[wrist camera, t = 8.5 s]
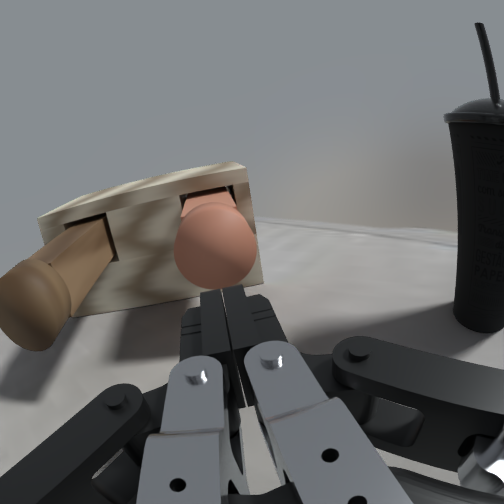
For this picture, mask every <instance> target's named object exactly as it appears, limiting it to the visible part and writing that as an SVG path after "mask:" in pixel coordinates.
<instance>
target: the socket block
mask: <svg viewBox="0 0 504 504" xmlns="http://www.w3.org/2000/svg"><path fill="white" fill-rule="evenodd" d="M222 186H226V188H227V190H228V192H229V194H230V195H231V197H232V199H233V201H234V202H235V204H236V206H237V210H238V211H239V212H240V213H241V214H242V215H243V217H244V218H245V220H246V222H247V223H248V225H249V227H250V228H251V230H252V232H253V234H254V237H255V239H256V244H257V255H256V260H255V263H254V265H253V267H252V269H251V270H250V272H249V273H248V274H247V276H246V277H245V278H244V279H242V280H241V281H240V282H238V283H237V284H235V285H239V284H242V285H243V287H247V286H252V285H257V284H262V283H264V281H263V274H262V268H261V261H260V254H259V247H258V241H257V234H256V228H255V221H254V214H253V208H252V201H251V195H250V188H249V183H248V175H247V169H246V167H244V166H242V165H240V164H238V163H235V162H233V161H230V162H224V163H219V164H213V165H208V166H202V167H198V168H192V169H187V170H182V171H178V172H173V173H168V174H164V175H160V176H156V177H151V178H147V179H143V180H139V181H134V182H131V183H126V184H123V185H119V186H115V187H111V188H108V189H104V190H101V191H97V192H93V193H90V194H87V195H83V196H81V197H79V198H76V199H75V200H72V201H70V202H68V203H66V204H64V205H62V206H60V207H58V208H56V209H54V210H52V211H50V212H48V213H46V214H44V215H42V216H41V217H39V218H37V220H38V224H39V227H40V231H41V234H42V238H43V241H44V244H45V245H46V244H48V243H49V242H50V241H52V240H53V239H54V238H56V237H57V236H58V235H60V234H61V233H63V232H64V231H65V230H67V229H68V228H70V227H71V226H73V225H74V224H76V223H77V222H78V221H80V220H81V219H83V218H86V217H90V216H93V215H97V214H101V213H105V212H106V215H107V219H108V222H109V226H110V230H111V234H112V237H113V241H114V244H115V248H116V251H117V252H116V254H115V255H114V256H113V258H112V259H111V261H110V262H109V263H108V265H107V266H106V267H105V269H104V270H103V272H102V273H101V275H100V276H99V277H98V279H97V280H96V282H95V283H94V285H93V286H92V288H91V289H90V290H89V292H88V293H87V295H86V296H85V298H84V299H83V301H82V302H81V304H80V306H79V307H78V309H77V310H76V312H75V313H74V315H73V316H72V318H74V317H81V316H87V315H94V314H100V313H106V312H112V311H118V310H124V309H130V308H136V307H142V306H148V305H153V304H159V303H164V302H170V301H175V300H181V299H186V298H191V297H197V296H200V292H205V291H210V290H212V289H205V288H201V287H199V286H196V285H194V284H193V283H191V282H190V281H188V280H187V279H186V278H185V277H184V276H183V275H182V274H181V272H180V271H179V269H178V267H177V265H176V262H175V259H174V243H175V239H176V235H177V232H178V228H179V225H180V223H181V214H182V211H183V208H184V204H185V201H186V198H187V195H188V193H191V192H196V191H201V190H206V189H212V188H217V187H222ZM233 286H234V285H233ZM221 292H222V289H221Z"/></svg>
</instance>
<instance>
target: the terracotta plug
mask: <svg viewBox="0 0 504 504" xmlns="http://www.w3.org/2000/svg"><path fill="white" fill-rule="evenodd" d="M256 255H257V244H256V239H255V237H254V234H253V232H252V230H251V228H250V227H249V225H248V223H247V222H246V220H245V218H244V217H243V215H242V214H241V213H240V212H239V211H238V210H237V206H236V204H235V202H234V201H233V199H232V197H231V195H230V194H229V192H228V190H227V188H226V187H225V186H222V187H217V188H212V189H206V190H201V191H196V192H191V193H188V195H187V198H186V201H185V204H184V208H183V211H182V214H181V223H180V225H179V228H178V232H177V235H176V239H175V243H174V259H175V262H176V265H177V267H178V269H179V271H180V272H181V274H182V275H183V276H184V277H185V278H186V279H187V280H188V281H190V282H191V283H193V284H194V285H196V286H199V287H201V288H205V289H212V290H215V289H222V288H225V287H230V286H233V285H235V284H237V283H238V282H240V281H241V280H242V279H244V278H245V277H246V276H247V274H248V273H249V272H250V270H251V269H252V267H253V265H254V263H255V260H256Z"/></svg>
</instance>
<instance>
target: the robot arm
mask: <svg viewBox="0 0 504 504" xmlns="http://www.w3.org/2000/svg"><path fill="white" fill-rule="evenodd" d="M222 291H223V297H224V302H223V298H222V294H221V289H215V290H210V291H205V292H200V307H195V308H190V309H188V310H187V311H186V313H185V314H184V316H183V317H182V325H181V328H182V329H181V341H180V362H179V363H178V364H177V365H176V366H175V367H174V368H173V369H172V371H171V372H170V375H169V381H168V383H167V384H165V385H163V386H161V387H159V388H157V389H154V390H151V391H149V392H146V393H143V394H142V393H141V391H140V389H139V388H137V387H136V386H134V385H131V384H117V385H114V386H111V387H109V388H107V389H105V390H104V391H103V392H101V393H100V394H99V395H98V396H97V397H96V398H94V399H93V400H92V401H91V402H90V403H89V404H87V405H86V406H85V407H84V408H83V409H81V410H80V411H79V412H78V413H77V414H76V415H74V416H73V417H72V418H71V419H70V420H68V421H67V422H66V423H65V424H64V425H62V426H61V427H60V428H59V429H58V430H57V431H55V432H54V433H53V434H52V435H51V436H49V437H48V438H47V439H46V440H45V441H43V442H42V443H41V444H40V445H39V446H37V447H36V448H35V449H34V450H33V451H31V452H30V453H29V454H28V455H27V456H25V457H24V458H23V459H22V460H21V461H19V462H18V463H17V464H16V465H15V466H13V467H12V468H11V469H10V470H9V471H7V472H6V473H5V474H4V475H2V476H1V477H0V504H504V370H502V369H497V368H492V367H488V366H483V365H478V364H474V363H469V362H465V361H461V360H456V359H452V358H448V357H444V356H439V355H435V354H431V353H427V352H423V351H419V350H415V349H412V348H408V347H404V346H400V345H396V344H393V343H389V342H385V341H381V340H378V339H374V338H371V337H365V336H356V337H351V338H347V339H345V340H343V341H341V342H340V343H338V344H337V345H336V346H335V348H334V350H333V353H332V354H329V355H308V354H303V353H300V352H299V351H298V350H297V349H296V347H294V346H293V345H292V344H290V343H288V341H287V339H286V337H285V334H284V332H283V330H282V328H281V326H280V323H279V321H278V319H277V317H276V315H275V313H274V310H273V308H272V306H271V304H270V302H269V300H268V299H267V298H265V297H263V296H262V295H260V294H258V295H253V296H249V297H246V295H245V292H244V288H243V285H242V284H239V285H234V286H230V287H225V288H222ZM224 303H225V307H224ZM225 308H226V311H225ZM226 314H227V315H226ZM227 319H228V320H227ZM238 371H239V372H238ZM239 374H240V377H239ZM240 378H241V382H242V386H243V390H244V394H245V397H246V401H247V405H248V407H249V406H255V410H256V414H257V418H258V422H259V426H260V429H261V432H262V434H263V437H264V440H265V443H266V445H267V448H268V451H269V453H270V456H271V458H272V461H273V464H274V466H275V469H276V471H277V474H278V477H279V480H280V483H281V486H280V487H278V488H276V489H274V490H272V491H269V492H267V493H265V494H261V495H250V491H249V488H248V483H247V477H246V468H245V458H244V448H243V438H242V429H241V426H240V423H241V419H240V413H239V409H240V408H245V407H246V406H245V401H244V396H243V392H242V387H241V382H240ZM380 398H382V399H380ZM384 399H385V400H384ZM387 400H388V401H387ZM390 401H391V402H390ZM393 402H395V403H393ZM396 403H398V404H396ZM399 404H401V405H399ZM402 405H404V406H402ZM406 406H407V407H406ZM409 407H411V408H409ZM412 408H414V409H412ZM416 409H417V410H416ZM374 447H375V448H378V449H381V450H383V451H386V452H389V453H392V454H395V455H398V456H401V457H404V458H407V459H410V460H413V461H417V462H420V463H423V464H427V465H430V466H434V467H438V468H441V469H445V470H449V471H453V472H457V473H458V478H459V480H460V486H457V485H454V484H450V483H447V482H443V481H440V480H437V479H433V478H430V477H427V476H424V475H421V474H418V473H415V472H412V471H409V470H406V469H402V468H397V467H389V466H387V465H386V464H385V462H384V461H383V459H382V458H381V456H380V455H379V453H378V452H377V451H376V449H375V448H374ZM121 448H122V449H123V450H124V451H123V452H122V453H121V454H120V455H119V456H118V457H117V458H116V459H115V460H114V461H113V462H112V463H111V464H110V465H109V466H108V467H107V468H106V469H105V470H104V471H103V472H102V473H101V474H100V475H98V476H97V477H96V478H94V479H92V476H93V475H94V474H95V473H96V472H97V471H98V470H99V469H100V468H101V467H102V466H103V465H104V464H105V463H106V462H107V461H108V460H109V459H111V458H112V457H113V456H114V455H115V454H116V453H117V452H118V451H119V450H120V449H121Z"/></svg>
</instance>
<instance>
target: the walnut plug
mask: <svg viewBox="0 0 504 504" xmlns="http://www.w3.org/2000/svg"><path fill="white" fill-rule="evenodd" d="M116 252H117V251H116V248H115V244H114V241H113V237H112V234H111V230H110V226H109V222H108V219H107V215H106V212H105V213H101V214H97V215H93V216H90V217H86V218H83V219H81V220H80V221H78V222H77V223H76V224H74V225H73V226H71V227H70V228H68V229H67V230H65V231H64V232H63V233H61V234H60V235H58V236H57V237H56V238H54V239H53V240H52V241H50V242H49V243H48V244H46V245H45V246H44V247H43V248H41V249H40V250H38V251H37V252H36V253H34V254H33V255H32V256H31V257H29V258H28V259H26V260H23V261H21V262H20V263H18V264H17V265H16V266H15V267H13V268H12V269H11V270H10V271H9V272H7V273H6V274H5V275H4V276H3V277H1V278H0V328H1V329H2V331H3V332H4V333H5V334H6V335H7V336H8V337H9V338H10V339H11V340H12V341H13V342H14V343H16V344H17V345H19V346H21V347H22V348H25V349H27V350H31V351H43V350H46V349H48V348H49V347H50V346H51V345H52V344H53V342H54V341H55V339H56V337H57V336H58V334H59V332H60V331H61V329H62V328H63V326H64V324H65V323H66V321H67V320H68V318H69V317H72V316H73V315H74V313H75V312H76V310H77V309H78V307H79V306H80V304H81V302H82V301H83V299H84V298H85V296H86V295H87V293H88V292H89V290H90V289H91V288H92V286H93V285H94V283H95V282H96V280H97V279H98V277H99V276H100V275H101V273H102V272H103V270H104V269H105V267H106V266H107V265H108V263H109V262H110V261H111V259H112V258H113V256H114V255H115V254H116Z"/></svg>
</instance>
